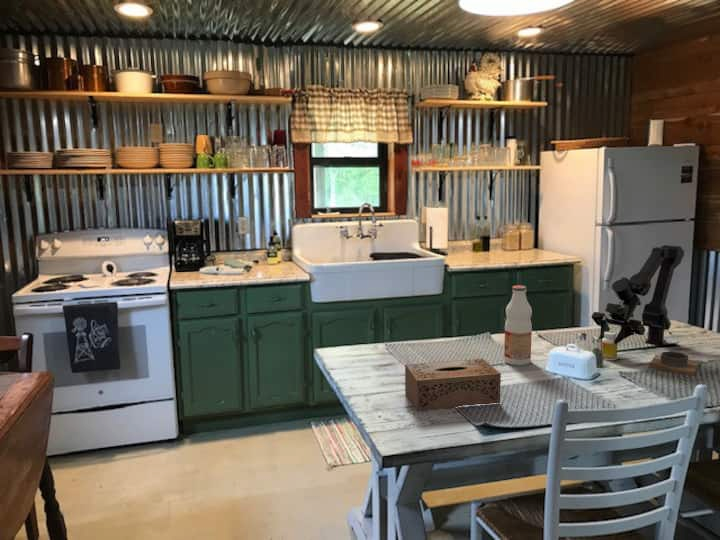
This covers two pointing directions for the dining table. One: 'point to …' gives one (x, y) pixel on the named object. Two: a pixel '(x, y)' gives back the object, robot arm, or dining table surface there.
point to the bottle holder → (674, 363)
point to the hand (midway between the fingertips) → (607, 341)
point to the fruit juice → (518, 329)
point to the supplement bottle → (609, 346)
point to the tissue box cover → (451, 384)
